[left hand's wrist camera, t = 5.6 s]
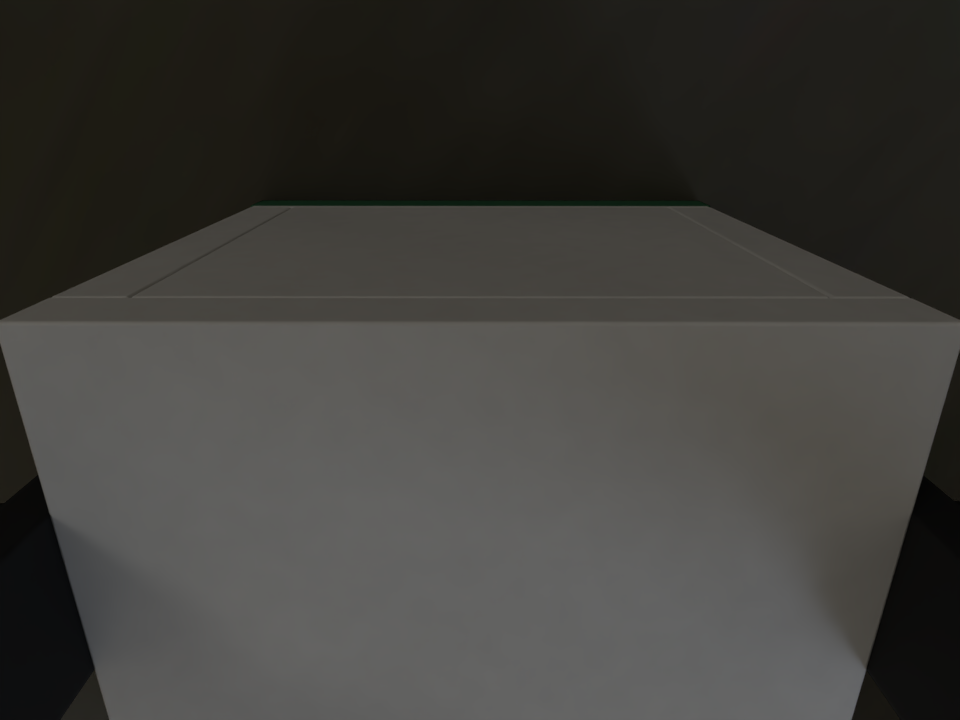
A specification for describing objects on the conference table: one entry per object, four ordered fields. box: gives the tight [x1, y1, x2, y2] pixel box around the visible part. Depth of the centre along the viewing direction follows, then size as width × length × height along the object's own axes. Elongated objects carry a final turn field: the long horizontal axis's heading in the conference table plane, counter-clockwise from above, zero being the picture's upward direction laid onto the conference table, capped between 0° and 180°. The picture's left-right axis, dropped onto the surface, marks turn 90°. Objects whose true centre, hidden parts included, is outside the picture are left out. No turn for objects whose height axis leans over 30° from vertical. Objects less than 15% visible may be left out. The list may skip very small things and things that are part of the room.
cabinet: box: [0, 201, 960, 720], centre depth 16 cm, size 19×11×10 cm, turn 0°
